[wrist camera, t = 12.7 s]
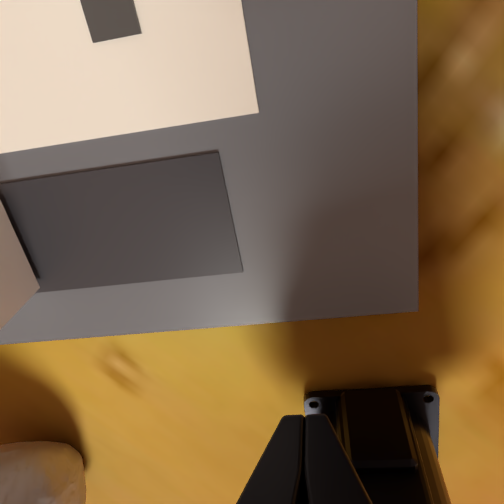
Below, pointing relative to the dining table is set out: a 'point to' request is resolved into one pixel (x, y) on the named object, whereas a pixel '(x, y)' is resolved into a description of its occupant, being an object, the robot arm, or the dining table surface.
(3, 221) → the peach cube
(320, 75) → the switch board
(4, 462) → the heart
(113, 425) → the dining table surface
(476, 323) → the dining table surface
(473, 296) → the dining table surface
